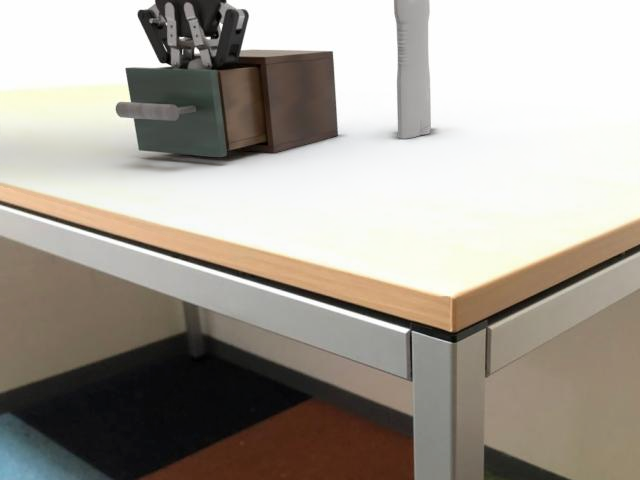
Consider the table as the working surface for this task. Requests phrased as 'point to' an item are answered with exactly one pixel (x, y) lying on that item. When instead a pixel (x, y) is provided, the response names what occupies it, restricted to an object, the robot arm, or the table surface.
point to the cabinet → (294, 97)
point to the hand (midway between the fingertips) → (203, 104)
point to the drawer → (196, 109)
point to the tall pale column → (413, 68)
